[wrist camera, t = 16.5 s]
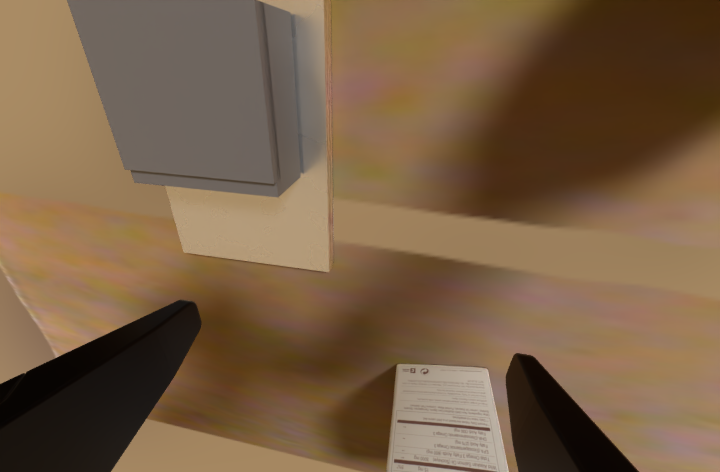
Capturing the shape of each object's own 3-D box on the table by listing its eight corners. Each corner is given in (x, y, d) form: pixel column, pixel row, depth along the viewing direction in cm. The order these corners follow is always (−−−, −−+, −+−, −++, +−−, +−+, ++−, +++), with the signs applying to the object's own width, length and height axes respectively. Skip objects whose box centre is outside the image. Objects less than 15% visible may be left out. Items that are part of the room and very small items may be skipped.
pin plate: (325, -429, 10) (228, -901, 5) (333, 262, 23) (308, 317, 18) (32, -372, 11) (-255, -687, 7) (194, 244, 24) (136, 289, 19)
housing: (290, 12, 14) (254, -1, 11) (300, 177, 18) (275, 199, 15) (136, 10, 16) (65, -3, 13) (176, 165, 19) (129, 184, 16)
